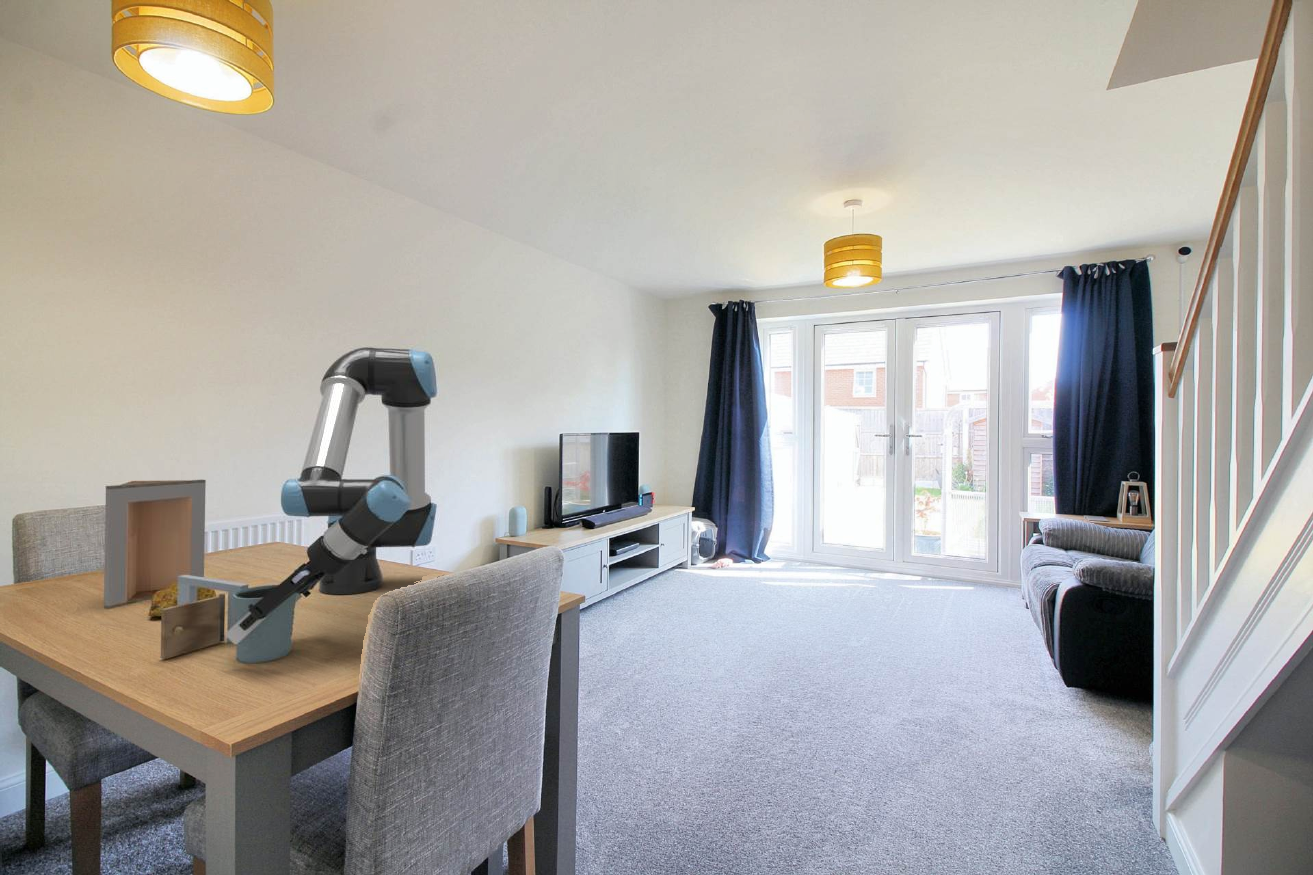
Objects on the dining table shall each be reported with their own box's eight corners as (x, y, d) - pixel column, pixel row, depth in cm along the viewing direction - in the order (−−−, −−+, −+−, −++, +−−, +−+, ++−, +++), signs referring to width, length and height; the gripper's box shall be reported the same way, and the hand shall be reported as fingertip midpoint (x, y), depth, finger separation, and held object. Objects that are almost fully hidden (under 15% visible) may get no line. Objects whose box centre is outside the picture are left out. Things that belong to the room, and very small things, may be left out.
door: (222, 640, 118) (223, 593, 118) (229, 641, 117) (230, 594, 117) (160, 658, 109) (161, 607, 109) (167, 660, 108) (168, 609, 108)
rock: (180, 637, 131) (139, 609, 127) (177, 633, 137) (138, 606, 133) (225, 595, 137) (187, 567, 133) (220, 593, 143) (184, 566, 139)
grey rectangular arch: (247, 641, 119) (248, 584, 118) (239, 644, 117) (241, 586, 117) (184, 629, 124) (185, 574, 124) (176, 631, 123) (177, 576, 123)
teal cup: (225, 667, 106) (226, 600, 106) (239, 647, 116) (240, 585, 115) (291, 660, 110) (292, 595, 110) (299, 641, 120) (300, 582, 120)
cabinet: (108, 608, 136) (110, 486, 136) (81, 603, 139) (83, 484, 139) (203, 586, 156) (205, 479, 155) (178, 582, 159) (180, 477, 159)
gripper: (323, 577, 102) (227, 666, 101) (375, 548, 127) (299, 618, 125) (291, 546, 101) (194, 635, 100) (349, 523, 126) (273, 593, 125)
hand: (252, 626), depth 113 cm, fingers open, 13 cm apart
